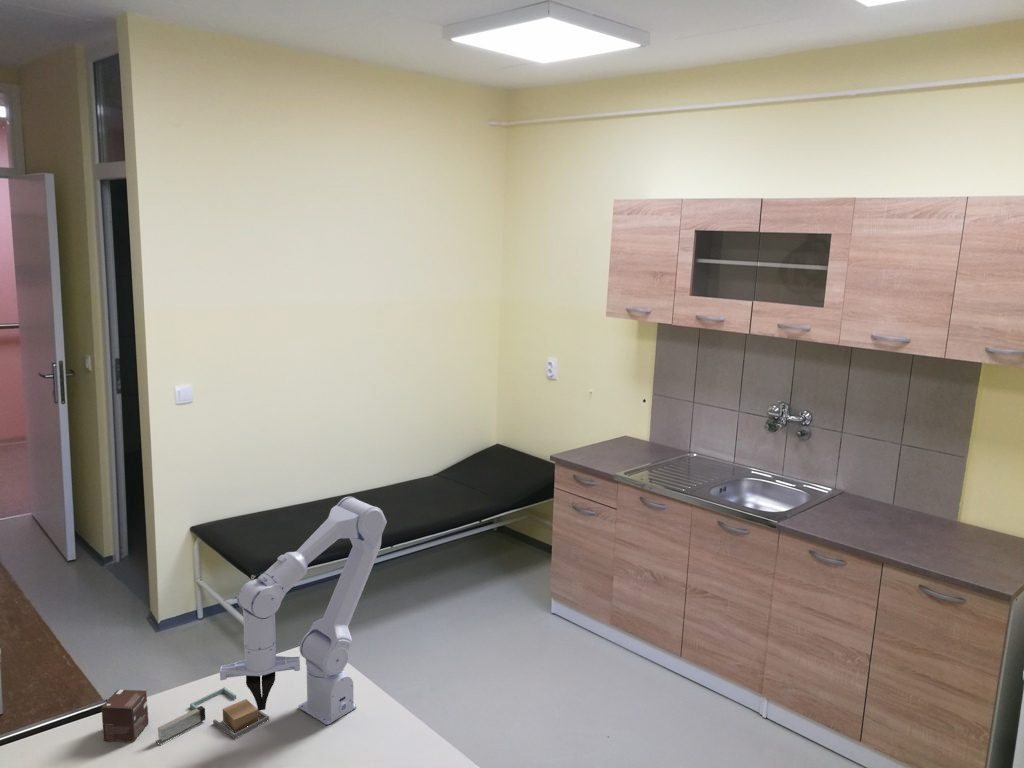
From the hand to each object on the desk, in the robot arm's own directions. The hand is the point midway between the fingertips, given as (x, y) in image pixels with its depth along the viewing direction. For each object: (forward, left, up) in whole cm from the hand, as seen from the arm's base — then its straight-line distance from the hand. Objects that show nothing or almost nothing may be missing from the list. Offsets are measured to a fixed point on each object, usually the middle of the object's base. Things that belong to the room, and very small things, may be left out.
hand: (261, 707), depth 147 cm
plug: (+7, 0, -7) cm, 10 cm away
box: (+21, +16, -7) cm, 28 cm away
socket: (+9, +5, -6) cm, 12 cm away
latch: (+13, +9, -6) cm, 17 cm away
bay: (+17, 0, -6) cm, 18 cm away
